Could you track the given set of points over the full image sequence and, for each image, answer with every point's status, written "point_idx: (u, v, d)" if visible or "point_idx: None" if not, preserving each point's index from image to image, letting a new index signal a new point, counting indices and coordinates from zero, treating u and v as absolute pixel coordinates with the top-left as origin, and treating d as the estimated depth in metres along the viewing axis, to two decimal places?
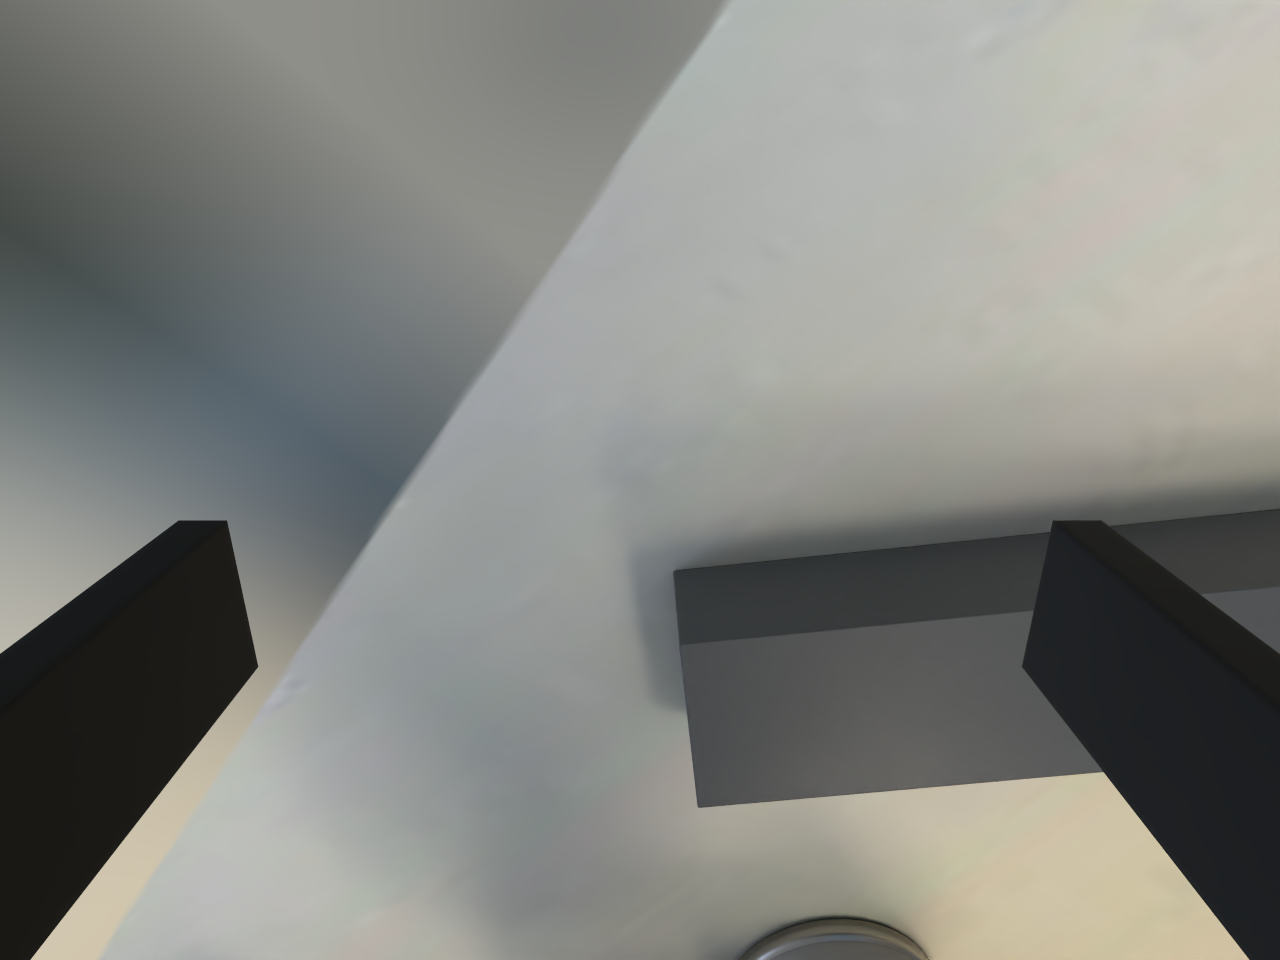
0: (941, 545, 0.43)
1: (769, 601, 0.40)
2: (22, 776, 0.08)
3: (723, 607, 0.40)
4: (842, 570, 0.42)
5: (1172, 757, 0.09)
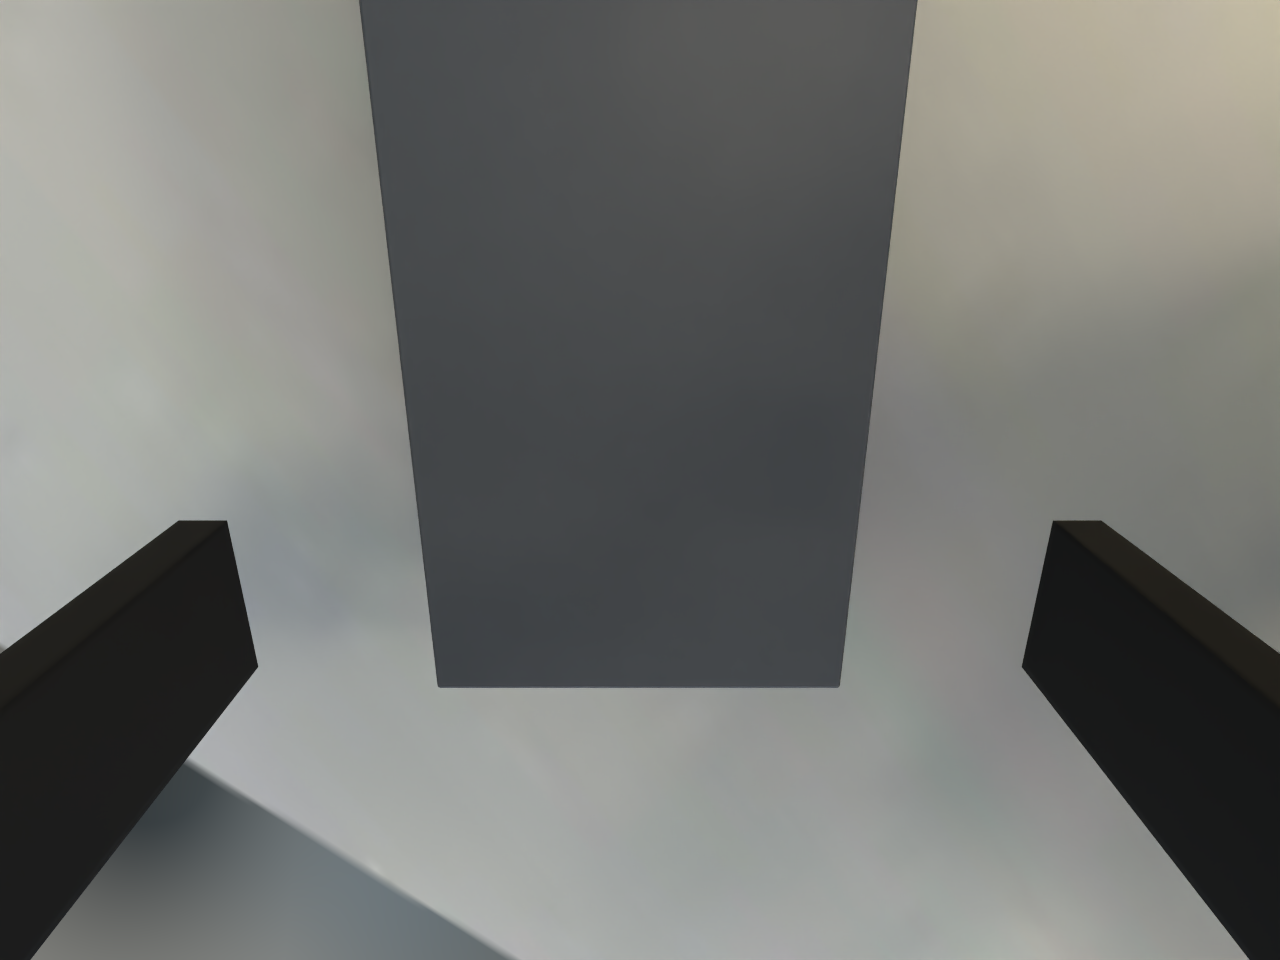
0: None
1: None
2: (21, 776, 0.08)
3: None
4: None
5: (1172, 757, 0.09)
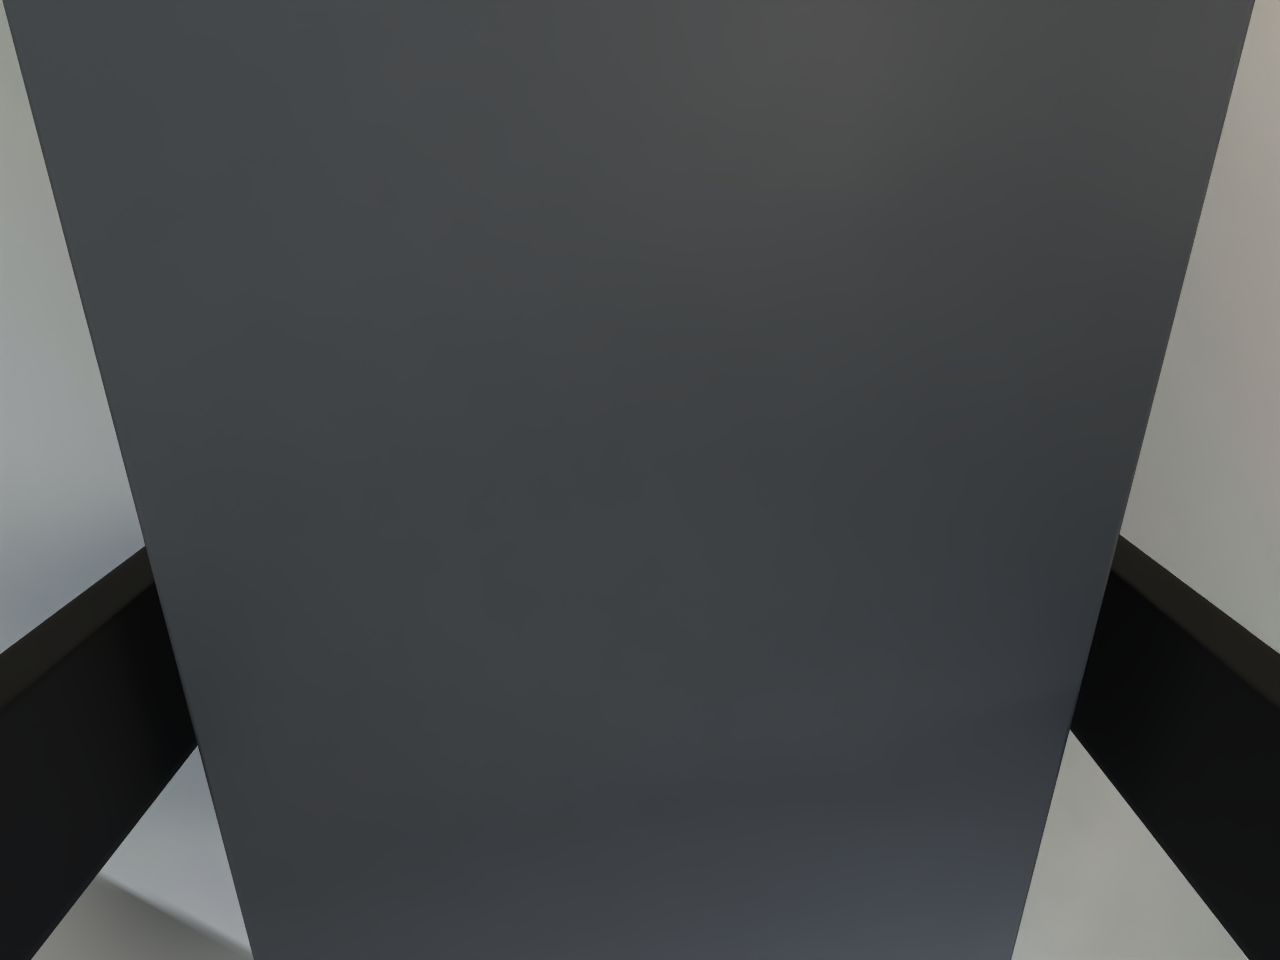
0: None
1: None
2: (21, 776, 0.08)
3: None
4: None
5: (1171, 756, 0.09)
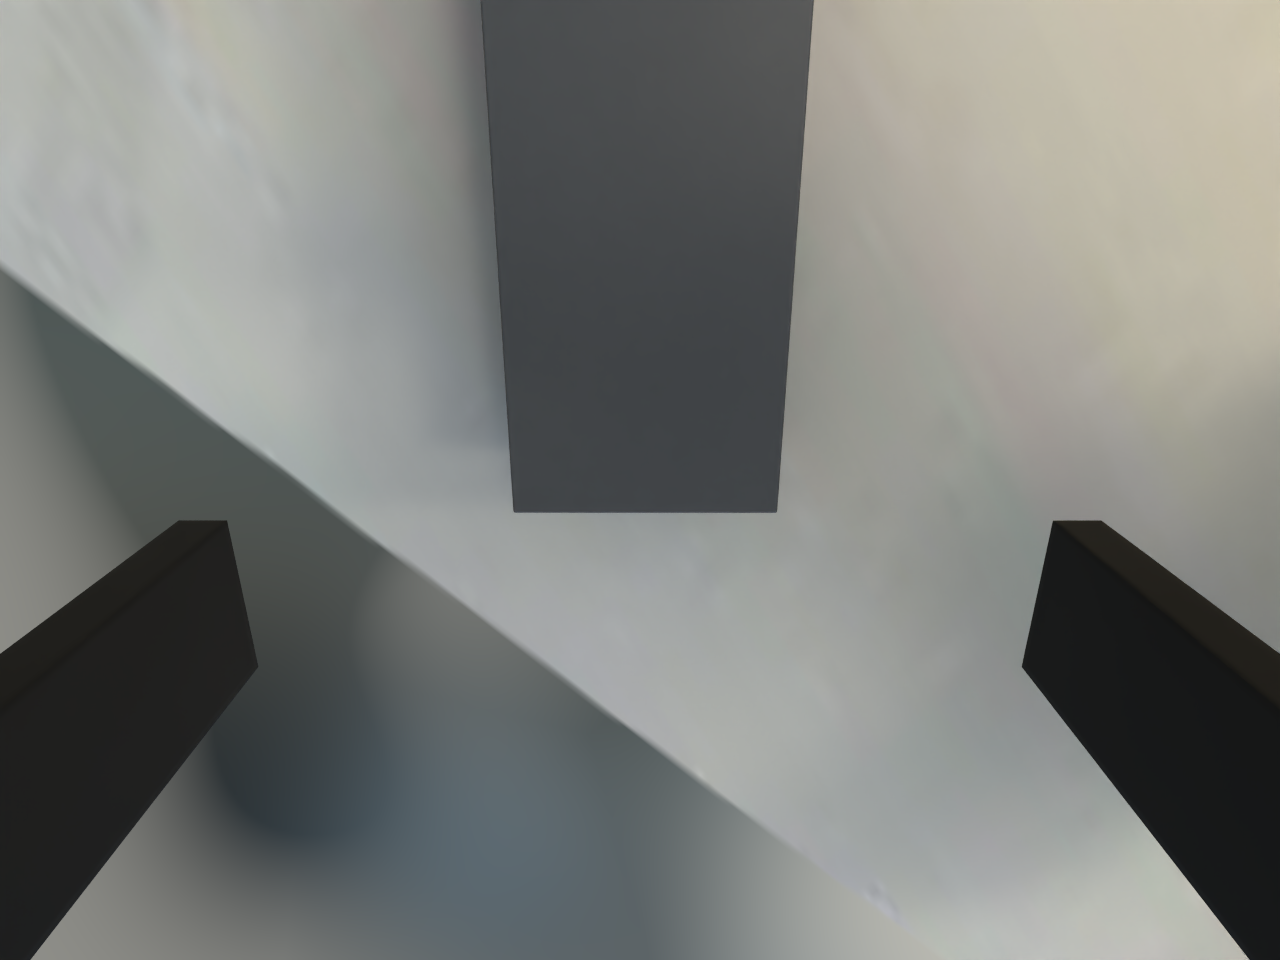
0: None
1: None
2: (21, 776, 0.08)
3: None
4: None
5: (1172, 757, 0.09)
